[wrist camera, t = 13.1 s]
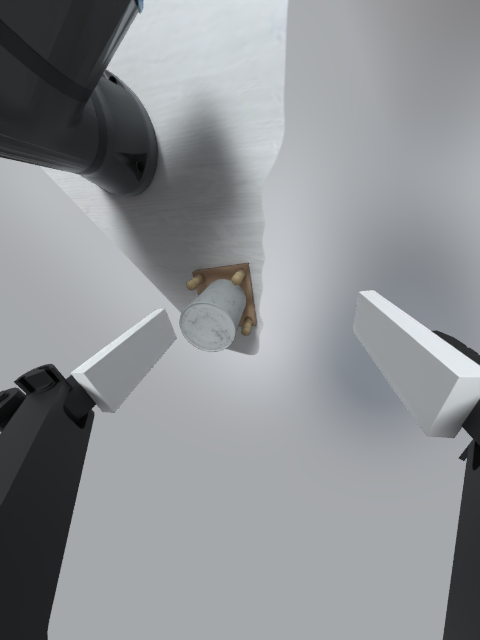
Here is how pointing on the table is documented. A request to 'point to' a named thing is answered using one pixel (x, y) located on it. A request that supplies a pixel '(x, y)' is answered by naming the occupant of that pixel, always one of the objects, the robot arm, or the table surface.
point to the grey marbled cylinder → (214, 316)
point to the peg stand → (238, 277)
